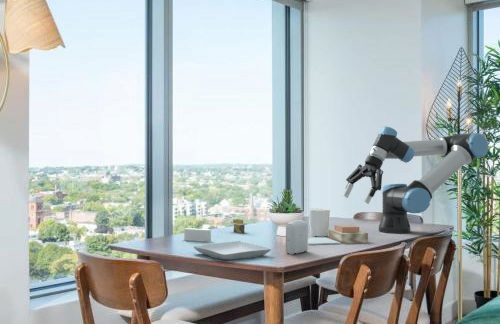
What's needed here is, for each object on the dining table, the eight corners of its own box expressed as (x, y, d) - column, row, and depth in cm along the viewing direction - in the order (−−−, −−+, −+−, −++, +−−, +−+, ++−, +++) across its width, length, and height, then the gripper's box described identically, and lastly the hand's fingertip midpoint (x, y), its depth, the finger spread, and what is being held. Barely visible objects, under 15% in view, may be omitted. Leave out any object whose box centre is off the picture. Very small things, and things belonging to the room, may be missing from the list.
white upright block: (293, 254, 208) (293, 221, 208) (283, 253, 211) (284, 220, 211) (309, 251, 216) (309, 219, 216) (299, 250, 219) (300, 218, 219)
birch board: (353, 238, 253) (353, 229, 253) (367, 242, 240) (367, 233, 240) (328, 238, 250) (328, 229, 250) (341, 243, 237) (341, 234, 237)
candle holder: (329, 237, 255) (329, 210, 255) (307, 236, 257) (307, 210, 257) (330, 234, 265) (330, 208, 265) (309, 233, 267) (309, 208, 267)
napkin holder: (218, 242, 241) (218, 228, 241) (196, 244, 234) (196, 230, 234) (197, 238, 252) (198, 225, 252) (176, 240, 245) (176, 227, 245)
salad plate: (223, 263, 192) (223, 253, 192) (192, 254, 210) (192, 245, 209) (272, 257, 205) (272, 248, 205) (239, 249, 222) (239, 240, 222)
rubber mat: (325, 238, 251) (325, 237, 251) (340, 244, 236) (340, 242, 236) (295, 239, 247) (295, 238, 247) (308, 245, 232) (308, 243, 232)
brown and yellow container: (239, 236, 259) (239, 222, 259) (216, 232, 273) (216, 218, 273) (259, 234, 266) (259, 220, 266) (235, 230, 280) (235, 217, 280)
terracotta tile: (351, 230, 250) (351, 224, 250) (359, 232, 242) (359, 226, 242) (334, 230, 248) (334, 225, 248) (342, 232, 240) (342, 227, 240)
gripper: (352, 150, 267) (332, 190, 264) (391, 158, 246) (370, 201, 243) (361, 158, 271) (341, 197, 268) (401, 166, 250) (380, 208, 247)
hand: (355, 199), depth 256 cm, fingers open, 13 cm apart
